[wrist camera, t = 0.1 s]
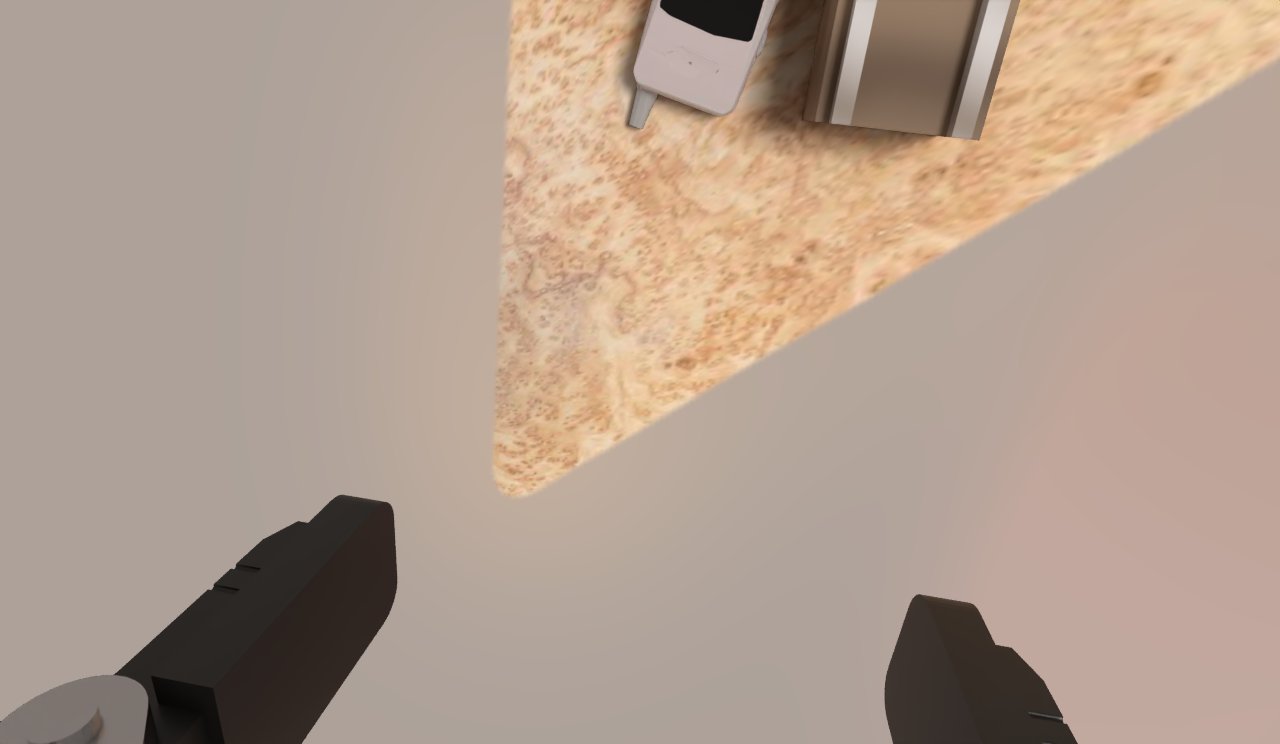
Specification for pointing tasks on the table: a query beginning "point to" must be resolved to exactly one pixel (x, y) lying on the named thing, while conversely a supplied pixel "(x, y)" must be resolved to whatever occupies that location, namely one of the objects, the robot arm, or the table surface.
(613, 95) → the table surface
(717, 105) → the mobile phone
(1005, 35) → the walnut track
